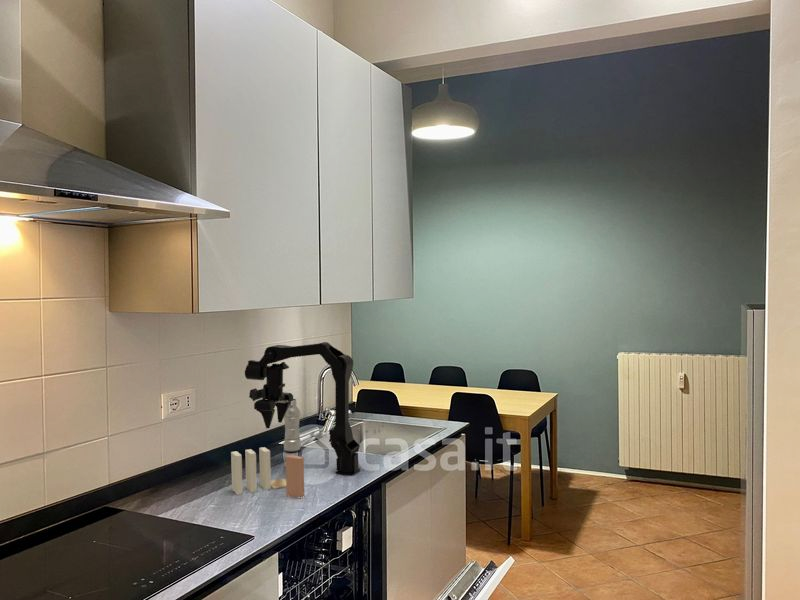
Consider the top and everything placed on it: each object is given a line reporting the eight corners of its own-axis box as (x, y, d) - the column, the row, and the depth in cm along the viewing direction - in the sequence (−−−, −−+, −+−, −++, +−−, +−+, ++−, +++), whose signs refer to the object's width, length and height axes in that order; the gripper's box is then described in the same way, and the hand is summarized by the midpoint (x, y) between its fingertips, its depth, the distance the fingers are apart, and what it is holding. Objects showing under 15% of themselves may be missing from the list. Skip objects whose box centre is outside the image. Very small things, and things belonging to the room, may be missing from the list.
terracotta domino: (290, 493, 195) (289, 455, 194) (304, 496, 192) (303, 457, 191) (286, 495, 193) (285, 456, 193) (300, 498, 190) (299, 458, 190)
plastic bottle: (280, 452, 242) (279, 400, 242) (289, 448, 248) (288, 397, 248) (295, 454, 240) (294, 401, 239) (304, 449, 246) (303, 398, 245)
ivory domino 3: (265, 484, 205) (264, 447, 204) (270, 488, 200) (270, 450, 199) (260, 485, 204) (259, 447, 203) (265, 489, 199) (264, 451, 199)
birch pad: (283, 479, 209) (283, 478, 209) (292, 486, 202) (292, 484, 202) (266, 482, 206) (266, 481, 206) (273, 489, 199) (273, 488, 199)
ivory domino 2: (251, 486, 202) (250, 449, 202) (256, 491, 197) (255, 453, 197) (246, 487, 201) (245, 449, 201) (251, 492, 197) (250, 453, 196)
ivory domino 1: (237, 488, 200) (236, 451, 200) (242, 493, 195) (241, 455, 195) (231, 489, 199) (231, 452, 199) (236, 494, 194) (235, 456, 194)
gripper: (266, 375, 234) (265, 417, 234) (240, 383, 216) (239, 429, 216) (294, 377, 231) (293, 420, 231) (270, 386, 213) (269, 432, 213)
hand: (273, 425), depth 223 cm, fingers open, 9 cm apart
